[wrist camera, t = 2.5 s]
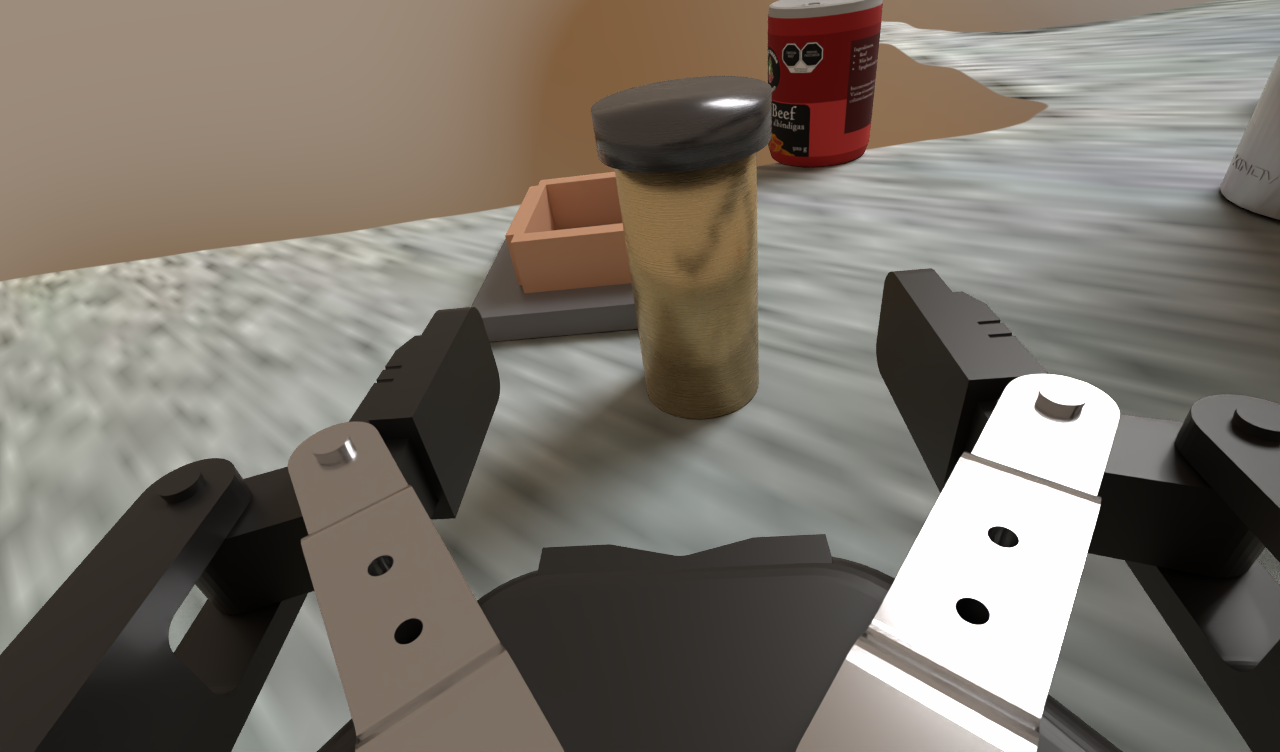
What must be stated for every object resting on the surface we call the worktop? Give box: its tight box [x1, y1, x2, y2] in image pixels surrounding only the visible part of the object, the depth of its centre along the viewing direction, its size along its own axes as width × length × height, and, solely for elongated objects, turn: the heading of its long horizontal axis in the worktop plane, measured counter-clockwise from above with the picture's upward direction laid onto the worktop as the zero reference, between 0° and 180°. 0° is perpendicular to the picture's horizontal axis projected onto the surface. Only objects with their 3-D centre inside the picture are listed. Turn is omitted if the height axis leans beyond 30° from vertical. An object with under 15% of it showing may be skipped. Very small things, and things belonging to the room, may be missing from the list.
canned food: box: [768, 0, 883, 167], centre depth 47 cm, size 8×8×11 cm
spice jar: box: [591, 76, 772, 419], centre depth 24 cm, size 6×6×12 cm
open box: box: [471, 172, 638, 342], centre depth 36 cm, size 14×14×4 cm
